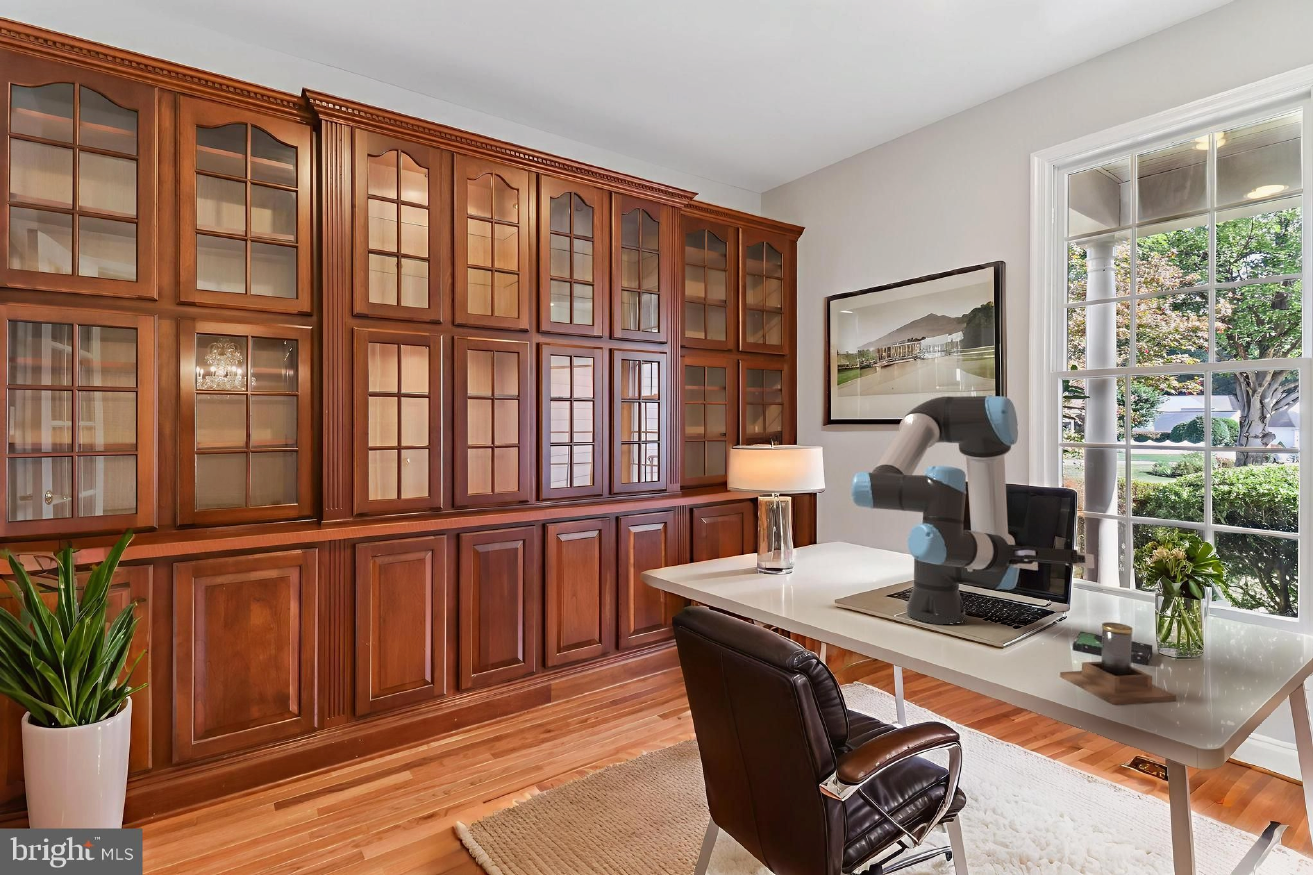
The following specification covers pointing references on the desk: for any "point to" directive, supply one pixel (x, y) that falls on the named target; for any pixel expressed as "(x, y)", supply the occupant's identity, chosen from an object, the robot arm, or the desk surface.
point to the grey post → (1116, 648)
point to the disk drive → (1094, 646)
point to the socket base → (1117, 685)
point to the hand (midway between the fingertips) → (1063, 562)
